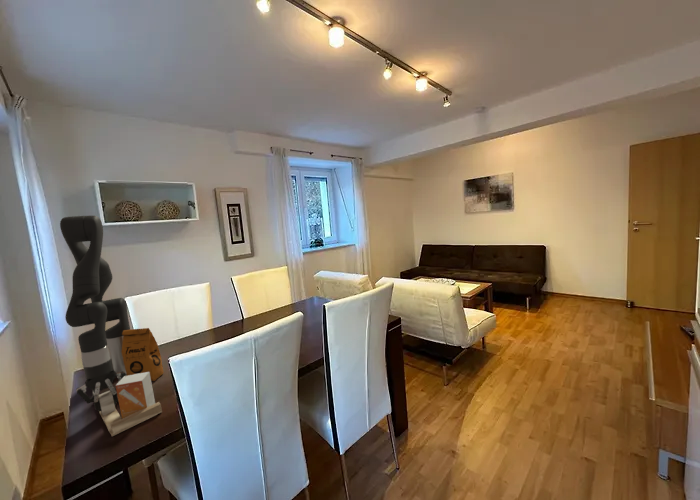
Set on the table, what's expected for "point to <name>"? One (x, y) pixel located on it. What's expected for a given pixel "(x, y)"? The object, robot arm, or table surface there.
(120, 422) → the hooked slat
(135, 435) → the table surface
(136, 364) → the coffee package
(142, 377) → the small box
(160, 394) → the table surface
